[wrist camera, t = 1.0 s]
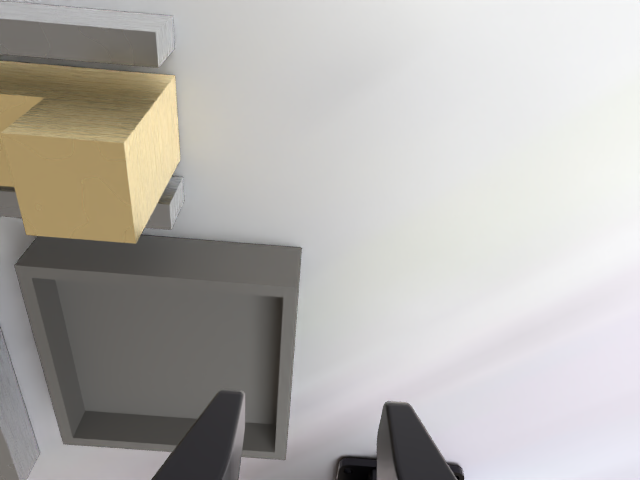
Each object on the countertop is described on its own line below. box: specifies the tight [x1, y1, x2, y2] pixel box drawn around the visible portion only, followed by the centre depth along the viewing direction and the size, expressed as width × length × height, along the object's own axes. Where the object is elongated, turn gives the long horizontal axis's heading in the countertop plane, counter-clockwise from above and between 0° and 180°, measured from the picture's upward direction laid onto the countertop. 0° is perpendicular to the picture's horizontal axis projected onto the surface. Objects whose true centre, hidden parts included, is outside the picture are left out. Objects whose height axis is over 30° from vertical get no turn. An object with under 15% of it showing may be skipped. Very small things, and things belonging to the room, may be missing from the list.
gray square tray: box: [14, 235, 302, 460], centre depth 24 cm, size 10×10×2 cm
